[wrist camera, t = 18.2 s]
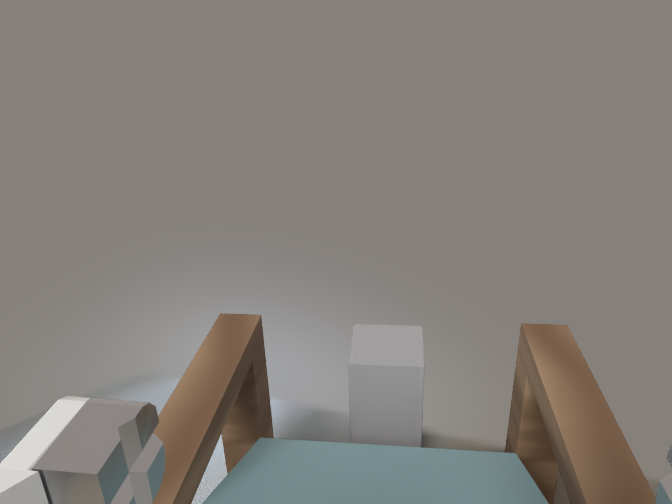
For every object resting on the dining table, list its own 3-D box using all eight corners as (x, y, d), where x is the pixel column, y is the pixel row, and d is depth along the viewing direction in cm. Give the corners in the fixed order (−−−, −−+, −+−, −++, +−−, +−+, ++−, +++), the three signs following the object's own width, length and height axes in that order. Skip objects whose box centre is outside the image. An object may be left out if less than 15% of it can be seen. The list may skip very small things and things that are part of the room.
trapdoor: (169, 569, 19) (170, 540, 19) (259, 455, 31) (260, 437, 31) (596, 609, 17) (596, 576, 17) (515, 472, 29) (515, 453, 29)
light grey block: (354, 324, 40) (356, 418, 44) (348, 364, 36) (351, 465, 40) (421, 326, 40) (418, 421, 44) (424, 367, 35) (420, 469, 39)
